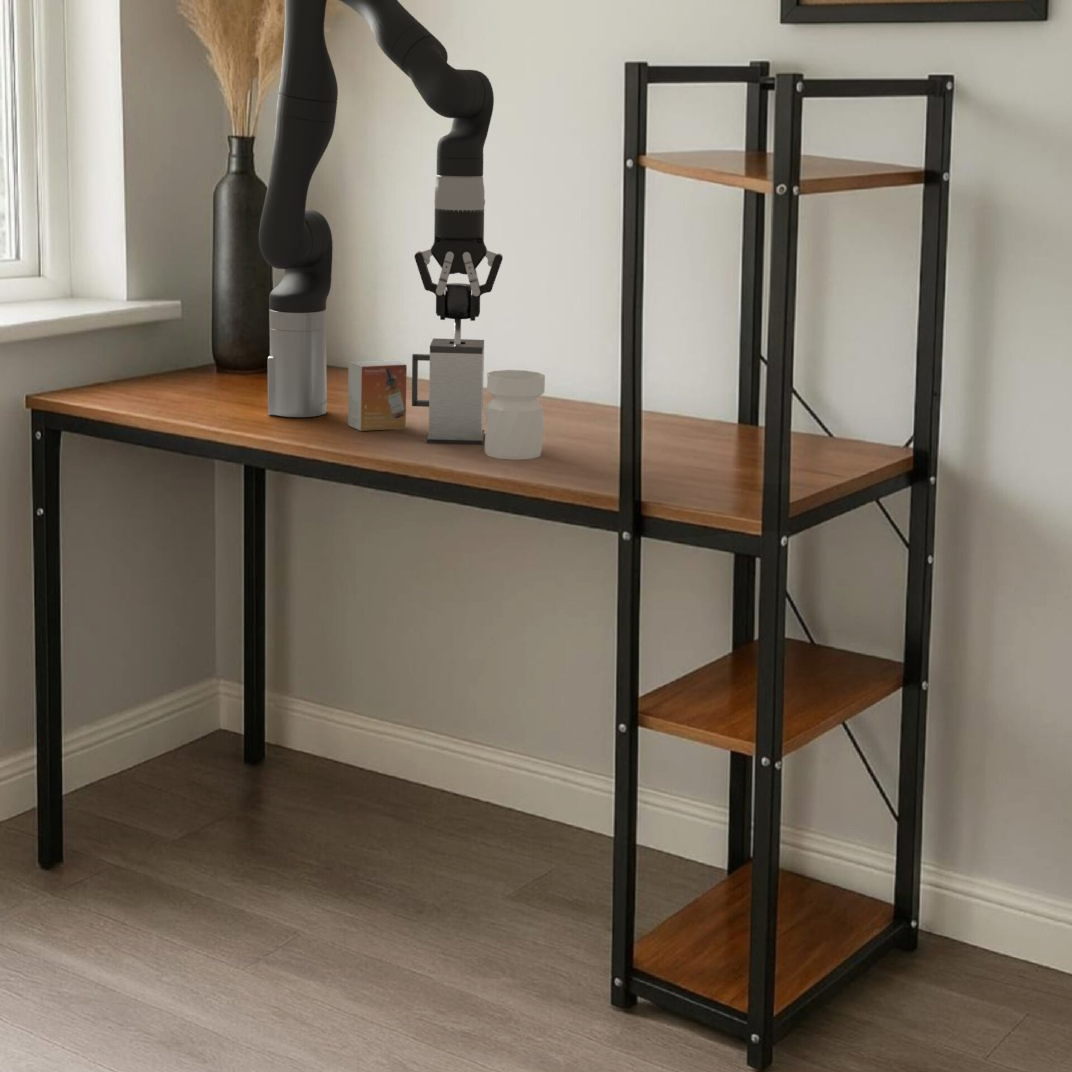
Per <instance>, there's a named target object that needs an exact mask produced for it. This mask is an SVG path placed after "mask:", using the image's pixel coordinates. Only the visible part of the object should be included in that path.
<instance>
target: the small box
mask: <svg viewBox="0 0 1072 1072" xmlns="http://www.w3.org/2000/svg"><path fill="white" fill-rule="evenodd" d="M407 376H408V375H407V364H406V363H403V362H401V361H398V360H396V359H385V360H366V361H349V362H348V382H347V383H348V389H347V390H348V394H347V396H348V397H347V398H348V403H347V404H348V406H347V407H348V408H347V424H348V426H349V427H351V428H353V429H356V430H357V431H359V432H366V431H380V430H384V431H385V430H386V431H387V430H405V429H406V427H407Z"/></svg>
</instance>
